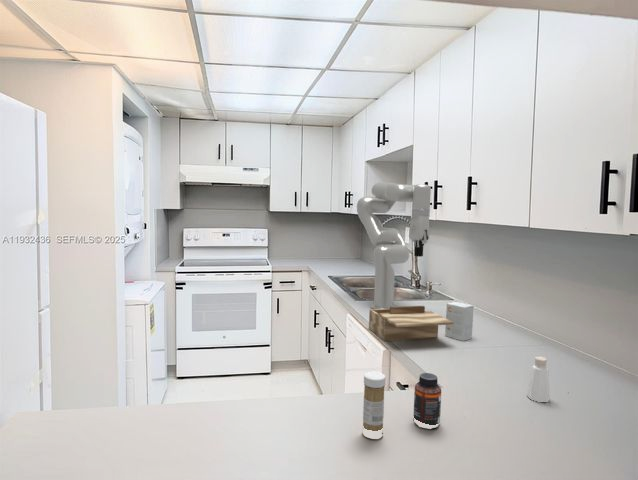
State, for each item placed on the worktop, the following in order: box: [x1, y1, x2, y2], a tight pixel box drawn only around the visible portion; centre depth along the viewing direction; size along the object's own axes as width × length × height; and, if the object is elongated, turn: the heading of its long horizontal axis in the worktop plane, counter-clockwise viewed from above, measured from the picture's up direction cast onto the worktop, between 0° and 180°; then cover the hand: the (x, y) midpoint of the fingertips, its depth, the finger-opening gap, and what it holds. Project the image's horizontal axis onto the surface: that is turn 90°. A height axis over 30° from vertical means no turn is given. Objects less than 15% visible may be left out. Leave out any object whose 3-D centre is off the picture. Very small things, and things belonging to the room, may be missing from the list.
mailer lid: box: [379, 305, 453, 327], centre depth 153 cm, size 16×22×3 cm
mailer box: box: [368, 308, 439, 342], centre depth 163 cm, size 16×22×8 cm
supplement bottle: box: [413, 372, 442, 425], centre depth 94 cm, size 6×6×11 cm
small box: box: [444, 301, 474, 342], centre depth 160 cm, size 8×6×13 cm
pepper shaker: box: [526, 356, 551, 403], centre depth 109 cm, size 5×5×11 cm
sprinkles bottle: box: [362, 371, 386, 431], centre depth 89 cm, size 5×5×13 cm
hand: (418, 256), depth 178 cm, fingers closed
